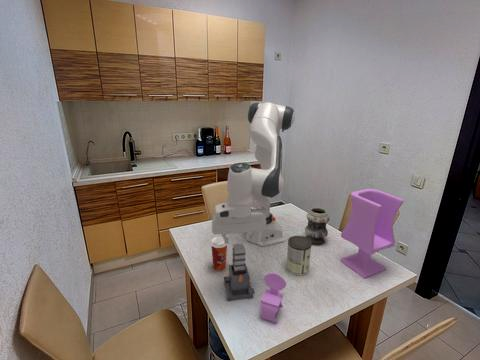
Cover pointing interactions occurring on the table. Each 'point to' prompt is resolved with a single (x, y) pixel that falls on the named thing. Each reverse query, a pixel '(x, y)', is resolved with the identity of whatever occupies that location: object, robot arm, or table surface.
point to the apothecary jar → (317, 225)
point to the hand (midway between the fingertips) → (238, 241)
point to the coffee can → (298, 255)
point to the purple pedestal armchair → (370, 229)
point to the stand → (238, 285)
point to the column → (238, 259)
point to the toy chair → (272, 296)
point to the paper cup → (219, 253)
